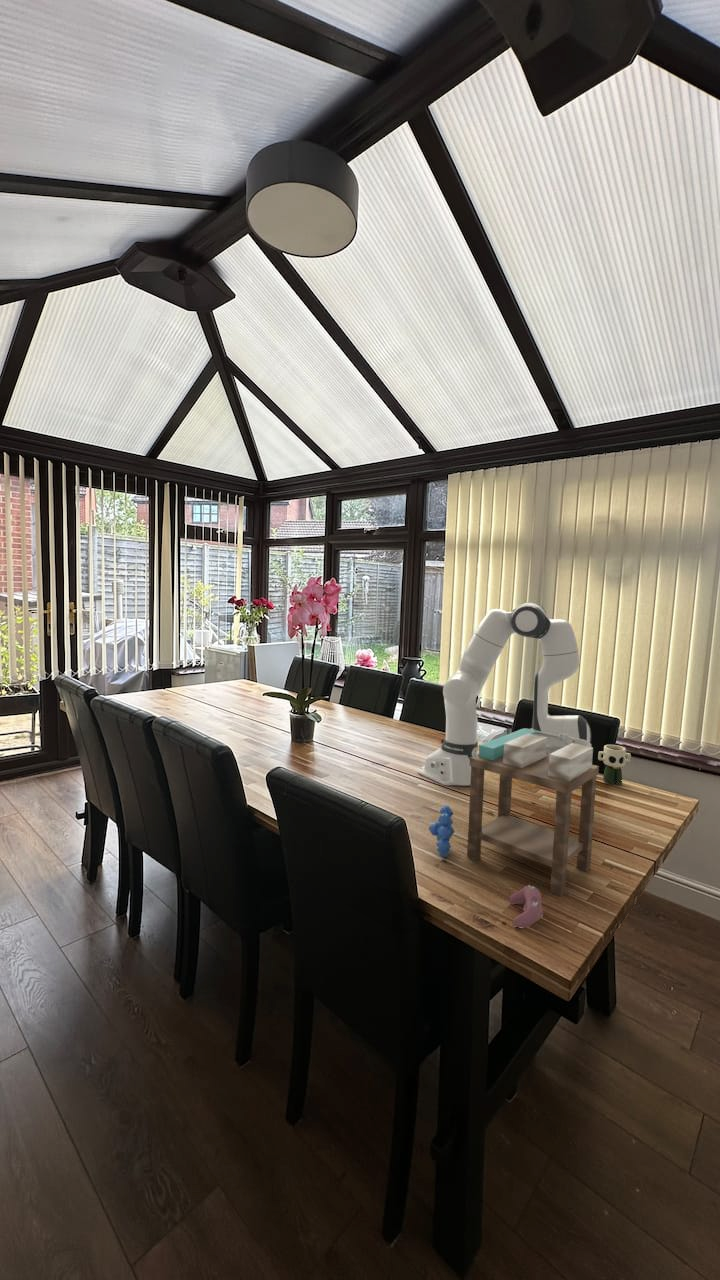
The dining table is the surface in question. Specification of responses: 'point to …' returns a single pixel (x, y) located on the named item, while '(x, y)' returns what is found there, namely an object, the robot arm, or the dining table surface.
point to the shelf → (548, 771)
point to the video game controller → (527, 906)
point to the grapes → (443, 830)
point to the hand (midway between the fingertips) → (546, 733)
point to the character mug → (613, 762)
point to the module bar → (500, 744)
